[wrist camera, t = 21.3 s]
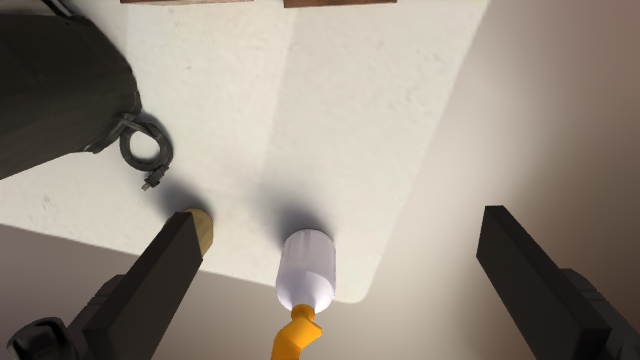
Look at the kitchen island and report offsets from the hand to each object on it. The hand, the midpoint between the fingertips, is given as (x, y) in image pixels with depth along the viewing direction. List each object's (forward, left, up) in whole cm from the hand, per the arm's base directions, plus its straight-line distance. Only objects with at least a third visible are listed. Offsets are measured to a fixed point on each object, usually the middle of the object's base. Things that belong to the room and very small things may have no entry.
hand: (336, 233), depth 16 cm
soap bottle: (+5, +28, -37) cm, 47 cm away
